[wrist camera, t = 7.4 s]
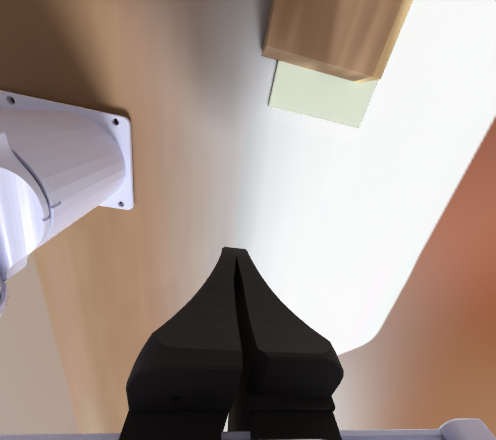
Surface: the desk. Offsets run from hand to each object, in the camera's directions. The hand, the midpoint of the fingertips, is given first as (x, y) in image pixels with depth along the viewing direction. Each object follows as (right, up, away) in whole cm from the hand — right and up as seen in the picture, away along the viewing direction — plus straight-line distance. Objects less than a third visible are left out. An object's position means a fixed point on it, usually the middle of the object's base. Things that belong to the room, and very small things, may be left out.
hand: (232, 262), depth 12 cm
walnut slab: (+3, +16, +1) cm, 17 cm away
